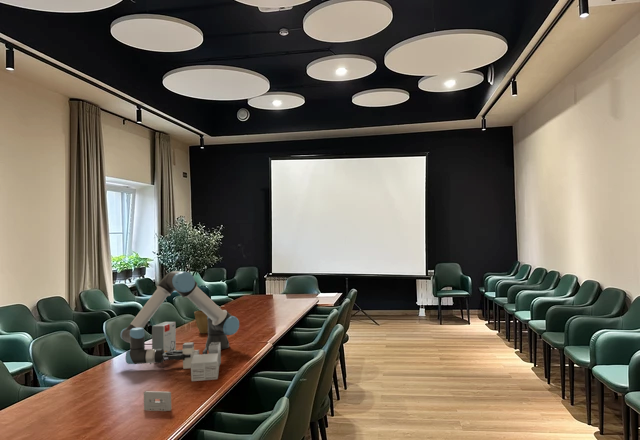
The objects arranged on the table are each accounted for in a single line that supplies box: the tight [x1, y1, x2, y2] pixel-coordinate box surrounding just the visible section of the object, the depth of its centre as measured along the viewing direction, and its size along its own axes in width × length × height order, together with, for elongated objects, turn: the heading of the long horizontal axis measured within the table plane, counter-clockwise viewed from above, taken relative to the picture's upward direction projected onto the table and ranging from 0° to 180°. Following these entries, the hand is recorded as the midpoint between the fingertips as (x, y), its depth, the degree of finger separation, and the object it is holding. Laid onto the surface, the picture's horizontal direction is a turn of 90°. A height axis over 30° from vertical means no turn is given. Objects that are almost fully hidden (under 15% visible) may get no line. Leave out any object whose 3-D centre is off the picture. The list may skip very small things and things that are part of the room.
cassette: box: [143, 390, 172, 412], centre depth 200 cm, size 12×2×8 cm, turn 81°
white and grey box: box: [182, 341, 195, 370], centre depth 265 cm, size 9×6×13 cm, turn 94°
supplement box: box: [190, 353, 220, 382], centre depth 248 cm, size 17×13×9 cm
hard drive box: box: [151, 321, 177, 352], centre depth 291 cm, size 16×8×20 cm, turn 168°
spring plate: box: [202, 347, 208, 354], centre depth 266 cm, size 1×8×8 cm, turn 4°
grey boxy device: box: [208, 342, 222, 367], centre depth 266 cm, size 9×10×12 cm
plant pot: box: [193, 310, 208, 334], centre depth 361 cm, size 15×15×16 cm
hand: (197, 353), depth 266 cm, fingers closed on white and grey box, 5 cm apart
